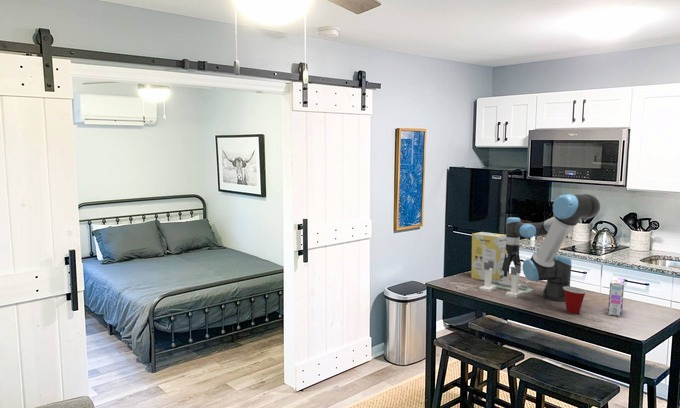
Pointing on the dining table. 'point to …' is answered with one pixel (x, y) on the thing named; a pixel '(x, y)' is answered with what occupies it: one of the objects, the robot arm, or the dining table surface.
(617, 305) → the candy box
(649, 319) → the dining table surface
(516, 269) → the rack
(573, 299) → the plastic cup
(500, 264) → the pasta box
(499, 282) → the rail
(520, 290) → the mat
